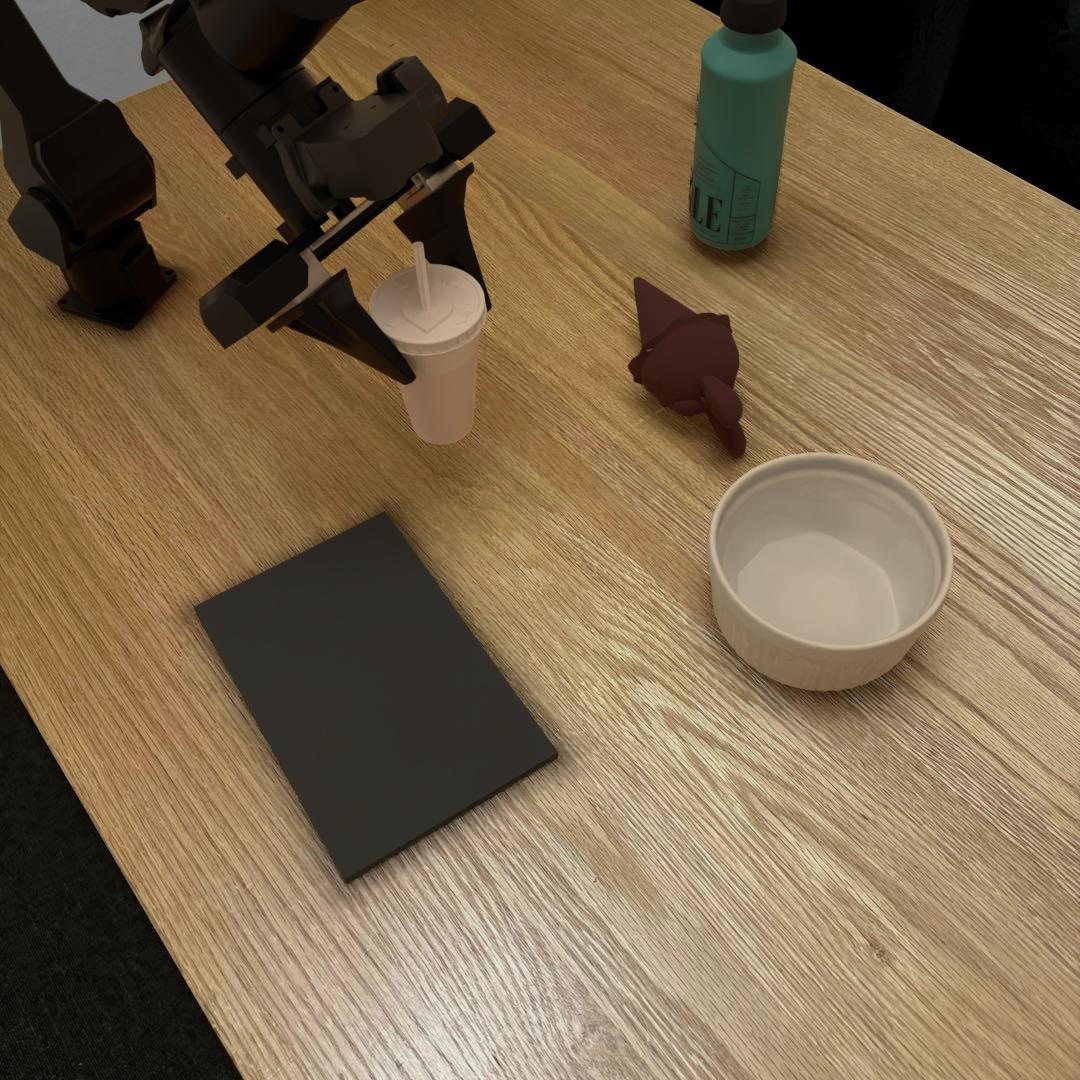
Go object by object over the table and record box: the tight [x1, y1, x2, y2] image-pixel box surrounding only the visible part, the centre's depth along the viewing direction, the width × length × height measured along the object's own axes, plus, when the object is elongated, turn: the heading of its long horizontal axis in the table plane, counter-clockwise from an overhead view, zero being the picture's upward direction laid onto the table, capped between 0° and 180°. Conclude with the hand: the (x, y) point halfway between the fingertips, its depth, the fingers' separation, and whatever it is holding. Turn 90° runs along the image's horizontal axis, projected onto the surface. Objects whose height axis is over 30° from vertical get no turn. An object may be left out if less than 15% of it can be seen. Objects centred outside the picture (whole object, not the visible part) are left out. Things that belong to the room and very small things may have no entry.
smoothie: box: [368, 242, 488, 446], centre depth 66 cm, size 6×6×14 cm
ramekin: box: [705, 451, 955, 692], centre depth 67 cm, size 13×13×7 cm
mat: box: [193, 510, 559, 884], centre depth 68 cm, size 20×13×1 cm, turn 32°
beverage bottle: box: [686, 0, 798, 251], centre depth 82 cm, size 6×7×20 cm
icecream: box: [627, 276, 748, 459], centre depth 78 cm, size 7×7×15 cm
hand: (449, 346), depth 66 cm, fingers closed on smoothie, 6 cm apart
